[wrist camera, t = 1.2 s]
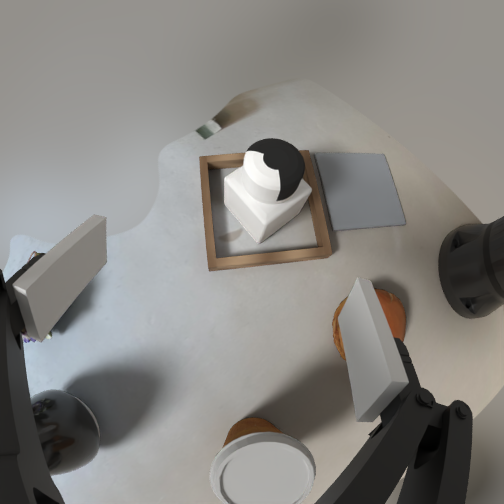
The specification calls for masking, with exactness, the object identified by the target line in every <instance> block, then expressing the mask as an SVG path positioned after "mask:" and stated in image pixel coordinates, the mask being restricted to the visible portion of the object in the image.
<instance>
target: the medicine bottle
mask: <svg viewBox="0 0 504 504" xmlns="http://www.w3.org/2000/svg"><path fill="white" fill-rule="evenodd" d="M304 172H305V162H304V159H303V156H302V155H301V153H300V152H299V151H298V149H297V148H295V147H294V146H293V145H292V144H290V143H288V142H286V141H283V140H280V139H273V138H271V139H263V140H260V141H257V142H256V143H254V144H253V145H251V146H250V147H249V148H248V150H247V151H246V154H245V156H244V163H243V166H241V167H240V168H238V169H237V170H235V171H234V172H232V173H231V174H229V175H228V176H226V177H225V179H224V204H225V206H226V207H227V208H228V209H229V210H230V212H231V213H232V214H233V215H234V216H235V217H236V219H237V220H238V221H239V222H240V223H241V225H242V226H243V227H244V228H245V229H246V230H247V232H248V233H249V234H250V235H251V236H252V237H253V239H254V240H255V241H256V242H257V243H259V244H260V243H262V242H263V241H264V240H265V239H267V238H268V237H269V236H271V235H272V234H273V233H274V232H276V231H277V230H278V229H280V228H281V227H282V226H284V225H285V224H286V223H287V222H289V221H290V220H291V219H293V218H294V217H295V216H296V215H298V214H299V212H300V211H301V209H302V207H303V205H304V204H305V202H306V200H307V199H308V197H309V195H310V193H311V192H312V188H311V187H310V186H309V185H308V184H307V183H306V182H305V181H304V180H303V179H302V178H303V175H304Z"/></svg>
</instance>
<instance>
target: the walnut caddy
mask: <svg viewBox="0 0 504 504" xmlns="http://www.w3.org/2000/svg"><path fill="white" fill-rule="evenodd" d="M299 152H300V153H301V155H302V156H303V159H304V162H305V172H304V175H303V178H304V181H305V182H306V183H307V184H308V185H309V186H310V187H311V188H312V192H311V193H310V195H309V197H308V201H309V206H310V210H311V215H312V220H313V225H314V230H315V235H316V240H317V245H318V248H309V249H300V250H291V251H281V252H272V253H262V254H253V255H244V256H234V257H225V258H216V253H215V243H214V233H213V222H212V211H211V200H210V189H209V176H208V170H212V169H223V168H235V167H241V166H243V163H244V156H245V154H246V153H236V154H223V155H212V156H201V157H199V159H200V175H201V189H202V203H203V215H204V227H205V238H206V249H207V260H208V269H209V271H217V270H226V269H236V268H245V267H254V266H263V265H272V264H281V263H289V262H298V261H307V260H315V259H324V258H328V257H329V256H331V255H332V249H331V244H330V239H329V234H328V230H327V225H326V220H325V216H324V211H323V207H322V202H321V198H320V194H319V190H318V185H317V181H316V177H315V173H314V169H313V165H312V161H311V158H310V154H309V150H299Z"/></svg>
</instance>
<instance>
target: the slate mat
mask: <svg viewBox="0 0 504 504" xmlns="http://www.w3.org/2000/svg"><path fill="white" fill-rule="evenodd" d="M314 156H315V160H316V163H317V167H318V171H319V175H320V179H321V183H322V187H323V191H324V195H325V200H326V204H327V208H328V212H329V217H330V221H331V226H332V231H342V230H353V229H364V228H376V227H388V226H400V225H405V224H406V222H405V218H404V215H403V211H402V208H401V204H400V201H399V198H398V194H397V191H396V188H395V185H394V182H393V179H392V176H391V173H390V170H389V167H388V164H387V161H386V159H385V156H384V154H369V153H315V154H314Z"/></svg>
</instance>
